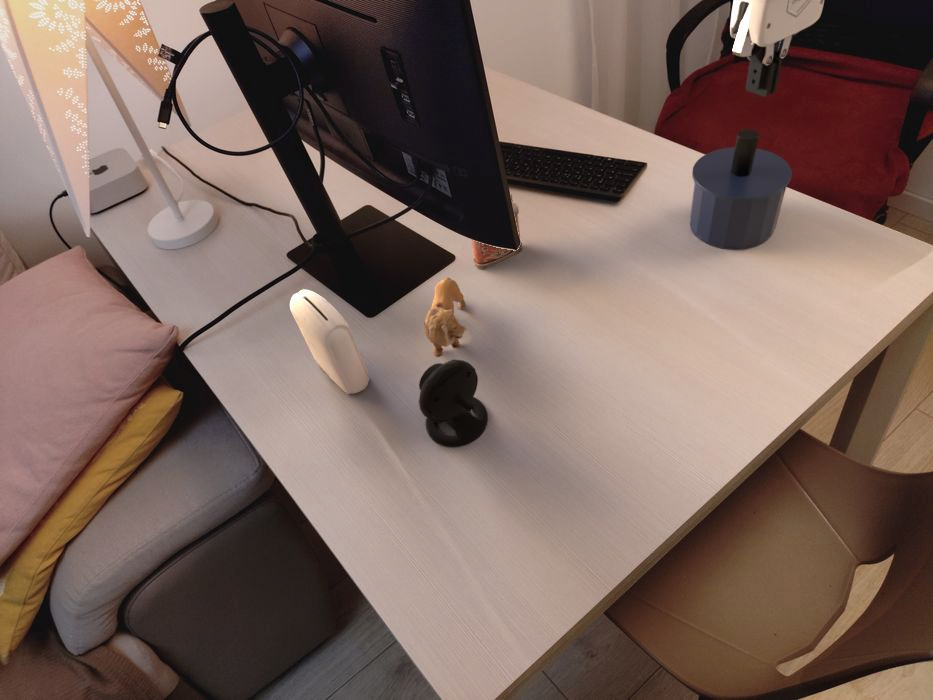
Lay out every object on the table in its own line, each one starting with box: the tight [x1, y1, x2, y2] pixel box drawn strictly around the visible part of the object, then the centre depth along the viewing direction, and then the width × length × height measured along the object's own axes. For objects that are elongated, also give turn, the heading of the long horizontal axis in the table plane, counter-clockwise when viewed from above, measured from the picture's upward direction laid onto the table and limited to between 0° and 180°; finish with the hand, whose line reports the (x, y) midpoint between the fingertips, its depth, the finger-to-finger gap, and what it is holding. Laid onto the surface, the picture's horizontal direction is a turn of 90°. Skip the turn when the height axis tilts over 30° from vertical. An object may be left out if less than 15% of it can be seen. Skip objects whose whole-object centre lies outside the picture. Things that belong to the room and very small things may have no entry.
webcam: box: [418, 359, 489, 448], centre depth 72 cm, size 8×8×10 cm
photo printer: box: [289, 289, 371, 395], centre depth 80 cm, size 10×4×12 cm, turn 39°
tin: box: [689, 182, 787, 250], centre depth 89 cm, size 12×12×8 cm
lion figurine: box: [423, 277, 467, 357], centre depth 83 cm, size 15×5×9 cm, turn 4°
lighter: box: [471, 194, 523, 271], centre depth 92 cm, size 8×3×10 cm, turn 119°
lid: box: [691, 129, 793, 201], centre depth 84 cm, size 13×13×7 cm
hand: (760, 91), depth 77 cm, fingers closed
